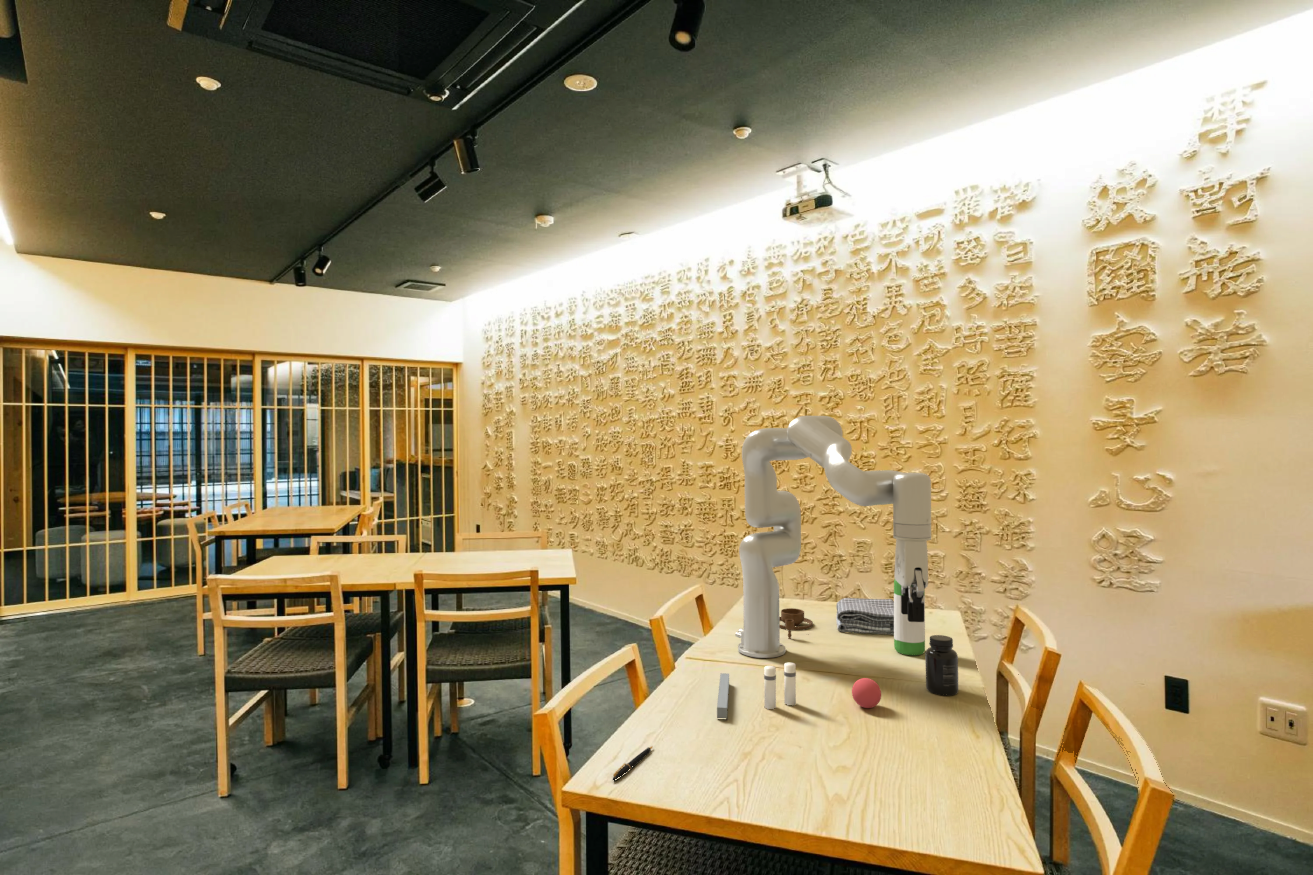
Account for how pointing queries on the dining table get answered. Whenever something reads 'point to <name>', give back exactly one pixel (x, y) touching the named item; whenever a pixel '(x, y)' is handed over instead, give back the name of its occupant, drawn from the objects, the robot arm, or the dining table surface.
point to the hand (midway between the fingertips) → (912, 616)
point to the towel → (865, 615)
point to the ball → (866, 693)
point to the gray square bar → (723, 696)
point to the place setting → (793, 620)
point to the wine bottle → (907, 628)
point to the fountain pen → (630, 763)
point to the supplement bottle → (941, 666)
